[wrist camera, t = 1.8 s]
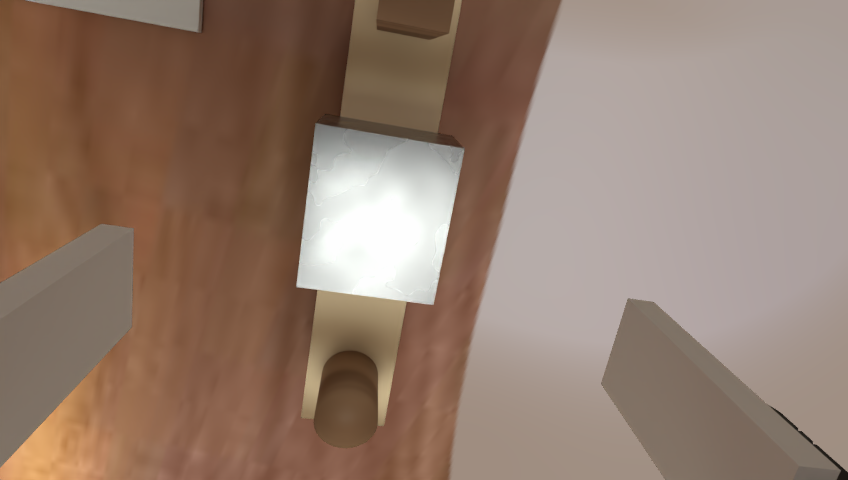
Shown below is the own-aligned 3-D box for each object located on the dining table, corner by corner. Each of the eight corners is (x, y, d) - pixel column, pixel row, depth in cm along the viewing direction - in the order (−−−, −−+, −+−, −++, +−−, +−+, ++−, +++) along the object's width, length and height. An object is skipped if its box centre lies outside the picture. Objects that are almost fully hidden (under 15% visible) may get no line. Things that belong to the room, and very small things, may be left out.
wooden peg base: (382, 368, 37) (385, 526, 24) (313, 361, 36) (279, 518, 24) (459, -63, 29) (519, -152, 17) (372, -82, 28) (367, -189, 16)
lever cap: (425, 271, 28) (433, 304, 24) (307, 255, 27) (296, 287, 24) (452, 135, 26) (464, 148, 22) (325, 113, 25) (315, 123, 22)
